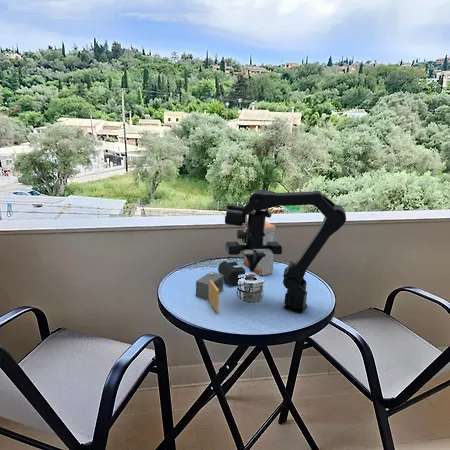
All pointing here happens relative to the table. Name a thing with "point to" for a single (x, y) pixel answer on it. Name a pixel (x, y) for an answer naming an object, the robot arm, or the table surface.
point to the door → (213, 295)
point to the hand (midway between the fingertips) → (251, 271)
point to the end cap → (231, 272)
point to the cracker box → (266, 262)
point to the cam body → (204, 283)
